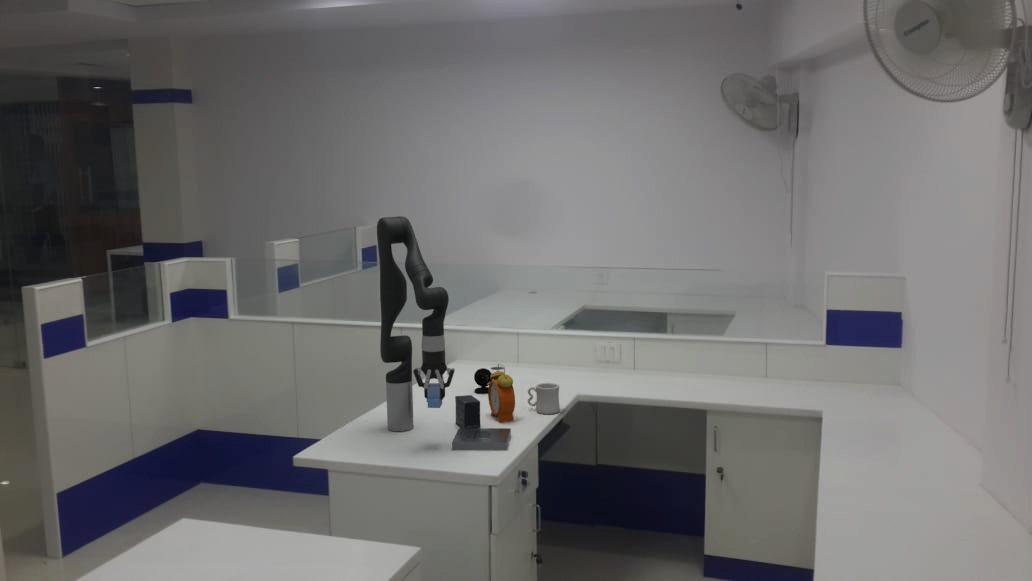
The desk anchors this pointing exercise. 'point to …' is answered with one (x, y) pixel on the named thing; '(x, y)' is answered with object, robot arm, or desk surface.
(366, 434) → the desk surface
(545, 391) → the mug
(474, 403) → the small box
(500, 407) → the alarm clock
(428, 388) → the block
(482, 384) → the black desk fan
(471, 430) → the plate
